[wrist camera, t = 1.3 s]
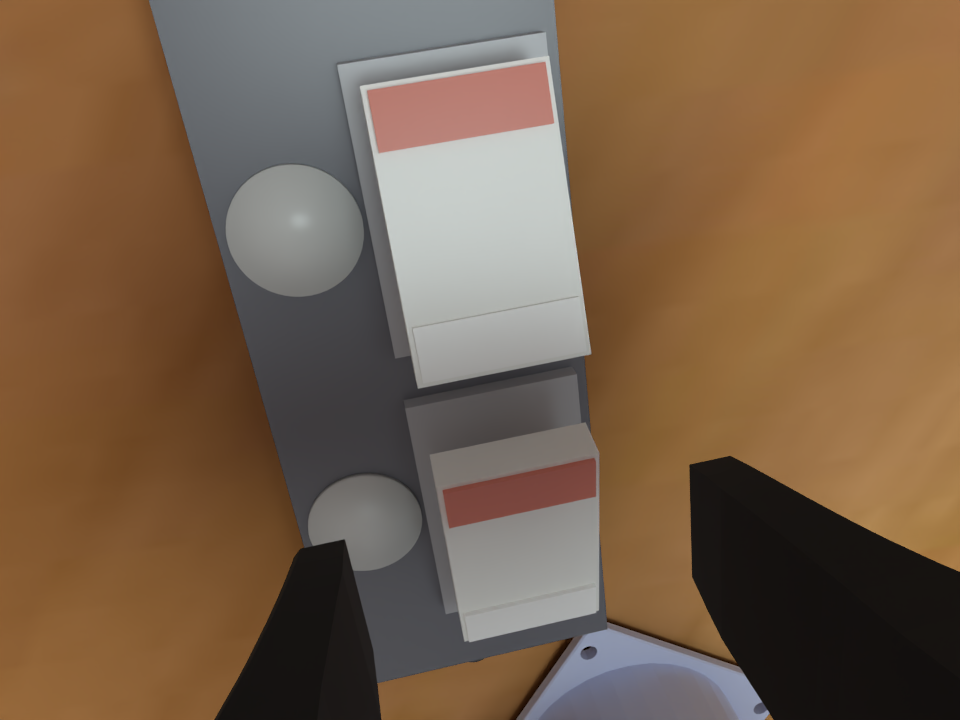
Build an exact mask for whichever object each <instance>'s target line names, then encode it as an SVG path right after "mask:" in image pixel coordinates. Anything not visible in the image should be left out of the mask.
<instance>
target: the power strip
mask: <svg viewBox="0 0 960 720" xmlns="http://www.w3.org/2000/svg"><path fill="white" fill-rule="evenodd" d="M149 3H150V6H151V10H152V13H153V17H154V20H155V24H156V27H157V31H158V34H159V38H160V41H161V45H162V48H163V52H164V55H165V59H166V62H167V66H168V69H169V73H170V76H171V80H172V83H173V87H174V90H175V94H176V98H177V101H178V105H179V108H180V112H181V115H182V119H183V122H184V126H185V129H186V133H187V136H188V140H189V143H190V147H191V150H192V154H193V157H194V161H195V164H196V168H197V171H198V175H199V178H200V182H201V186H202V189H203V193H204V196H205V200H206V203H207V207H208V210H209V214H210V217H211V221H212V224H213V228H214V231H215V235H216V238H217V242H218V245H219V249H220V252H221V256H222V259H223V263H224V266H225V270H226V273H227V277H228V281H229V284H230V288H231V291H232V295H233V298H234V302H235V305H236V309H237V312H238V316H239V319H240V323H241V326H242V330H243V333H244V337H245V340H246V344H247V347H248V351H249V354H250V358H251V361H252V365H253V368H254V372H255V376H256V379H257V383H258V386H259V390H260V393H261V397H262V400H263V404H264V407H265V411H266V414H267V418H268V421H269V425H270V428H271V432H272V435H273V439H274V442H275V446H276V449H277V453H278V456H279V460H280V464H281V467H282V471H283V474H284V478H285V481H286V485H287V488H288V492H289V495H290V499H291V502H292V506H293V509H294V513H295V516H296V520H297V523H298V527H299V530H300V534H301V537H302V541H303V544H304V548H306V547H310V546H315V545H320V544H324V543H329V542H334V541H338V540H343V539H345V541H346V545H347V549H348V553H349V557H350V561H351V565H352V569H353V573H354V577H355V581H356V584H357V588H358V592H359V596H360V600H361V604H362V608H363V612H364V616H365V620H366V624H367V627H368V631H369V635H370V639H371V643H372V647H373V652H374V660H375V669H376V677H377V683H380V682H384V681H389V680H393V679H397V678H401V677H406V676H410V675H414V674H418V673H423V672H427V671H431V670H436V669H440V668H444V667H448V666H453V665H457V664H461V663H465V662H477V661H480V660H483V659H484V658H487V657H491V656H495V655H500V654H504V653H508V652H512V651H517V650H521V649H525V648H530V647H534V646H538V645H542V644H547V643H551V642H555V641H559V640H564V639H568V638H572V637H577V636H581V635H585V634H589V633H594V632H598V631H602V630H606V629H607V617H606V605H605V594H604V582H603V570H602V558H601V547H600V535H599V611H596V613H594V614H590V615H585V616H581V617H577V618H572V619H568V620H564V621H559V622H555V623H551V624H547V625H542V626H538V627H534V628H529V629H525V630H521V631H516V632H512V633H508V634H503V635H499V636H495V637H490V638H486V639H482V640H477V641H473V642H469V641H465V642H464V637H463V632H462V627H461V623H460V618H459V613H458V608H457V603H456V597H455V592H454V586H453V581H452V575H451V570H450V564H449V559H448V553H447V548H446V542H445V537H444V532H443V526H442V521H441V515H440V510H439V504H438V499H437V493H436V488H435V482H434V477H433V471H432V466H431V460H430V454H435V453H440V452H445V451H450V450H454V449H459V448H464V447H469V446H474V445H479V444H483V443H488V442H493V441H498V440H503V439H507V438H512V437H517V436H522V435H527V434H532V433H536V432H541V431H546V430H551V429H556V428H560V427H565V426H570V425H575V424H580V423H585V422H586V425H587V427H588V429H589V431H590V433H591V430H590V418H589V406H588V394H587V383H586V371H585V359H584V356H580V357H575V358H570V359H565V360H560V361H555V362H550V363H545V364H540V365H535V366H530V367H525V368H520V369H515V370H510V371H505V372H500V373H495V374H489V375H484V376H479V377H474V378H469V379H464V380H459V381H454V382H449V383H444V384H439V385H434V386H429V387H424V388H419V389H418V386H417V383H416V379H415V375H414V369H413V364H412V359H411V354H410V349H409V343H408V338H407V333H406V328H405V323H404V318H403V312H402V307H401V302H400V297H399V292H398V286H397V281H396V276H395V271H394V266H393V261H392V255H391V250H390V245H389V240H388V235H387V229H386V224H385V219H384V214H383V209H382V204H381V198H380V193H379V188H378V183H377V178H376V172H375V167H374V162H373V157H372V152H371V147H370V141H369V136H368V131H367V126H366V121H365V115H364V110H363V105H362V100H361V95H360V86H363V85H369V84H375V83H381V82H388V81H394V80H400V79H406V78H412V77H419V76H425V75H431V74H437V73H444V72H450V71H456V70H462V69H468V68H475V67H481V66H487V65H493V64H500V63H506V62H512V61H518V60H524V59H531V58H537V57H543V56H549V59H550V66H551V73H552V80H553V87H554V94H555V101H556V108H557V115H558V122H559V129H560V136H561V143H562V150H563V157H564V164H565V171H566V179H567V186H568V193H569V200H570V207H571V195H570V183H569V172H568V160H567V148H566V136H565V125H564V113H563V101H562V90H561V78H560V66H559V54H558V43H557V31H556V19H555V7H554V0H149ZM571 214H572V207H571ZM572 221H573V219H572Z"/></svg>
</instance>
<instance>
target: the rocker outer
mask: <svg viewBox="0 0 960 720" xmlns="http://www.w3.org/2000/svg"><path fill="white" fill-rule="evenodd" d="M360 95H361V100H362V105H363V110H364V115H365V121H366V126H367V131H368V136H369V141H370V147H371V152H372V157H373V162H374V167H375V172H376V178H377V183H378V188H379V193H380V198H381V204H382V209H383V214H384V219H385V224H386V229H387V235H388V240H389V245H390V250H391V255H392V261H393V266H394V271H395V276H396V281H397V286H398V292H399V297H400V302H401V307H402V312H403V318H404V323H405V328H406V333H407V338H408V343H409V349H410V354H411V359H412V364H413V369H414V375H415V379H416V383H417V386H418V389H419V388H424V387H429V386H434V385H439V384H444V383H449V382H454V381H459V380H464V379H469V378H474V377H479V376H484V375H489V374H495V373H500V372H505V371H510V370H515V369H520V368H525V367H530V366H535V365H540V364H545V363H550V362H555V361H560V360H565V359H570V358H575V357H580V356H585V355H590V354H591V348H590V341H589V333H588V326H587V319H586V312H585V305H584V298H583V291H582V284H581V277H580V270H579V263H578V256H577V249H576V242H575V235H574V228H573V221H572V214H571V207H570V200H569V193H568V186H567V179H566V171H565V164H564V157H563V150H562V143H561V136H560V129H559V122H558V115H557V108H556V101H555V94H554V87H553V80H552V73H551V66H550V59H549V56H543V57H537V58H531V59H524V60H518V61H512V62H506V63H500V64H493V65H487V66H481V67H475V68H468V69H462V70H456V71H450V72H444V73H437V74H431V75H425V76H419V77H412V78H406V79H400V80H394V81H388V82H381V83H375V84H369V85H363V86H360Z"/></svg>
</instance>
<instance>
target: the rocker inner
mask: <svg viewBox="0 0 960 720" xmlns="http://www.w3.org/2000/svg"><path fill="white" fill-rule="evenodd" d="M430 460H431V466H432V471H433V477H434V482H435V488H436V493H437V499H438V504H439V510H440V515H441V521H442V526H443V532H444V537H445V542H446V548H447V553H448V559H449V564H450V570H451V575H452V581H453V586H454V592H455V597H456V603H457V608H458V613H459V618H460V623H461V627H462V632H463V637H464V642H465V641H469V642H473V641H477V640H482V639H486V638H490V637H495V636H499V635H503V634H508V633H512V632H516V631H521V630H525V629H529V628H534V627H538V626H542V625H547V624H551V623H555V622H559V621H564V620H568V619H572V618H577V617H581V616H585V615H590V614H594V613H596V611H599V451H598V449H597V447H596V445H595V442H594V440H593V438H592V436H591V433H590V431H589V429H588V427H587V425H586V422H585V423H580V424H575V425H570V426H565V427H560V428H556V429H551V430H546V431H541V432H536V433H532V434H527V435H522V436H517V437H512V438H507V439H503V440H498V441H493V442H488V443H483V444H479V445H474V446H469V447H464V448H459V449H454V450H450V451H445V452H440V453H435V454H430Z"/></svg>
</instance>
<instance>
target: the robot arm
mask: <svg viewBox="0 0 960 720" xmlns="http://www.w3.org/2000/svg"><path fill="white" fill-rule="evenodd" d="M690 504H691V545H692V577H693V579H694V582H695V584H696V586H697V588H698V590H699V592H700V595H701V597H702V599H703V601H704V603H705V605H706V608H707V610H708V612H709V614H710V616H711V618H712V620H713V622H714V624H715V626H716V628H717V630H718V632H719V634H720V636H721V638H722V640H723V641H724V643H725V645H726V646H727V648H728V649H729V651H730V653H731V654H732V656H733V657H734V659H735V660H736V662H737V664H738V665H739V667H738V666H735V665H732V664H729V663H726V662H723V661H721V660H718V659H715V658H712V657H709V656H706V655H703V654H700V653H697V652H694V651H691V650H688V649H685V648H682V647H679V646H676V645H673V644H670V643H667V642H665V641H662V640H659V639H656V638H653V637H650V636H647V635H644V634H641V633H638V632H635V631H632V630H629V629H626V628H623V627H620V626H617V625H614V624H611V623H609V622H607V629H606V630H602V631H598V632H594V633H589V634H585V635H581V636H577V637H574V638H573V640H572V641H571V642H570V644H569V645H568V647H567V648H566V650H565V651H564V652H563V654H562V655H561V657H560V658H559V659H558V661H557V662H556V664H555V665H554V667H553V668H552V669H551V671H550V672H549V674H548V675H547V676H546V678H545V679H544V681H543V682H542V683H541V685H540V686H539V688H538V689H537V691H536V692H535V693H534V695H533V696H532V698H531V699H530V700H529V702H528V703H527V705H526V706H525V708H524V709H523V710H522V712H521V713H520V715H519V716H518V717H517V719H516V720H764V719H765V718H766V717H767V716H768V715H769V713H770V715H771V716H772V718H773V719H774V720H960V572H958V571H956V570H954V569H951V568H949V567H947V566H944V565H942V564H940V563H937V562H935V561H933V560H931V559H929V558H927V557H924V556H922V555H920V554H918V553H916V552H914V551H911V550H909V549H907V548H905V547H903V546H901V545H898V544H896V543H894V542H892V541H890V540H888V539H886V538H884V537H882V536H880V535H878V534H876V533H874V532H872V531H870V530H868V529H866V528H864V527H862V526H860V525H858V524H856V523H854V522H852V521H850V520H848V519H846V518H844V517H842V516H841V515H839V514H837V513H835V512H833V511H831V510H829V509H827V508H825V507H824V506H822V505H820V504H818V503H816V502H814V501H813V500H811V499H809V498H807V497H805V496H803V495H802V494H800V493H798V492H796V491H794V490H793V489H791V488H789V487H787V486H785V485H784V484H782V483H780V482H778V481H776V480H775V479H773V478H771V477H769V476H767V475H765V474H764V473H762V472H760V471H758V470H756V469H755V468H753V467H751V466H749V465H747V464H745V463H743V462H741V461H739V460H737V459H735V458H733V457H731V456H728V457H723V458H718V459H714V460H709V461H705V462H700V463H695V464H691V465H690ZM588 646H591V647H590V648H589V649H586V650H583V649H584V648H585V647H588ZM215 720H381V713H380V704H379V695H378V686H377V677H376V669H375V660H374V652H373V647H372V643H371V639H370V635H369V631H368V627H367V624H366V620H365V616H364V612H363V608H362V604H361V600H360V596H359V592H358V588H357V584H356V581H355V577H354V573H353V569H352V565H351V561H350V557H349V553H348V549H347V545H346V541H345V539H343V540H338V541H334V542H329V543H324V544H320V545H315V546H310V547H306V548H301V549H300V550H299V551H298V553H297V554H296V555H295V557H294V559H293V562H292V564H291V567H290V570H289V572H288V575H287V577H286V579H285V582H284V584H283V587H282V589H281V591H280V594H279V596H278V598H277V601H276V603H275V605H274V607H273V609H272V612H271V614H270V616H269V618H268V620H267V623H266V625H265V627H264V629H263V631H262V633H261V635H260V637H259V639H258V641H257V643H256V645H255V647H254V649H253V651H252V653H251V655H250V657H249V659H248V661H247V663H246V665H245V667H244V668H243V670H242V672H241V674H240V676H239V678H238V680H237V681H236V683H235V685H234V686H233V688H232V690H231V692H230V693H229V695H228V697H227V699H226V700H225V702H224V704H223V706H222V707H221V709H220V711H219V713H218V714H217V716H216V718H215Z"/></svg>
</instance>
